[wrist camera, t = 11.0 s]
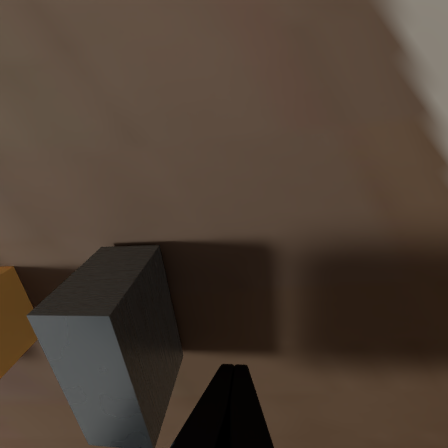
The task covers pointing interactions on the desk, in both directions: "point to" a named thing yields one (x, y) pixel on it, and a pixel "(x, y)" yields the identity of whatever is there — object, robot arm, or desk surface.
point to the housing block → (13, 319)
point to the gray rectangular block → (113, 344)
